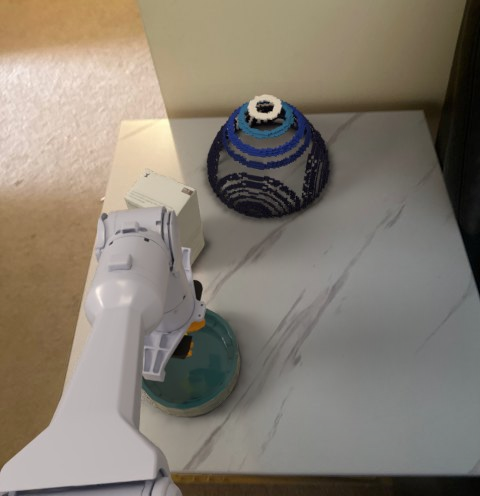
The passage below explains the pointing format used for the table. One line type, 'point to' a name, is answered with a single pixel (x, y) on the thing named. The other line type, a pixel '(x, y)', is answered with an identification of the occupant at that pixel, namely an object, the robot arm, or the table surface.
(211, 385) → the glazed bowl
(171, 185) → the cosmetic box
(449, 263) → the table surface
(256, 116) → the decorative bowl
